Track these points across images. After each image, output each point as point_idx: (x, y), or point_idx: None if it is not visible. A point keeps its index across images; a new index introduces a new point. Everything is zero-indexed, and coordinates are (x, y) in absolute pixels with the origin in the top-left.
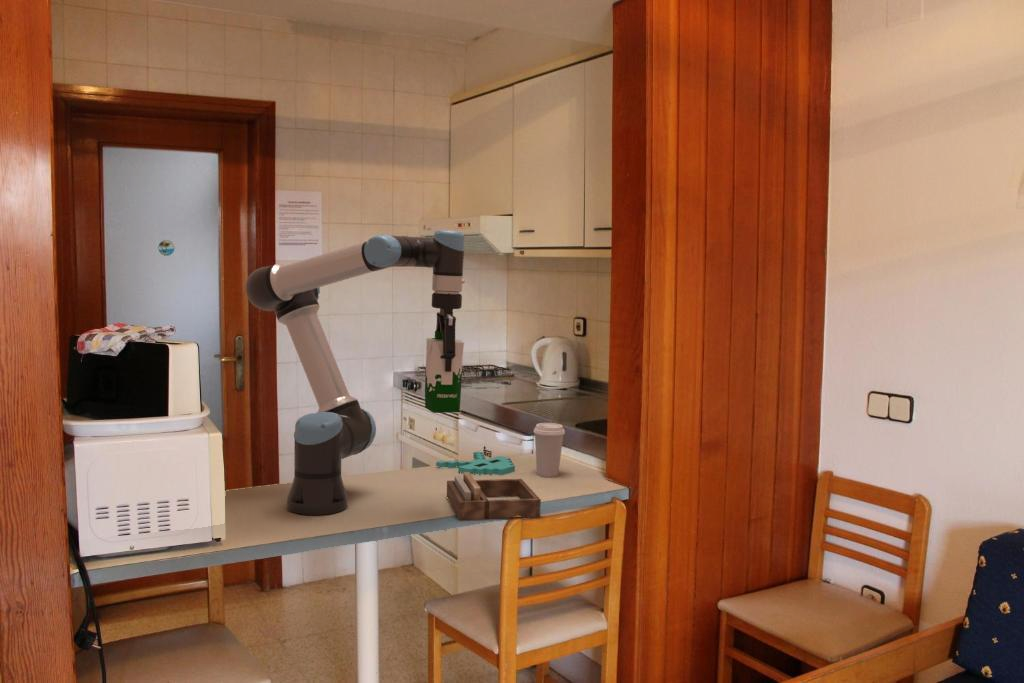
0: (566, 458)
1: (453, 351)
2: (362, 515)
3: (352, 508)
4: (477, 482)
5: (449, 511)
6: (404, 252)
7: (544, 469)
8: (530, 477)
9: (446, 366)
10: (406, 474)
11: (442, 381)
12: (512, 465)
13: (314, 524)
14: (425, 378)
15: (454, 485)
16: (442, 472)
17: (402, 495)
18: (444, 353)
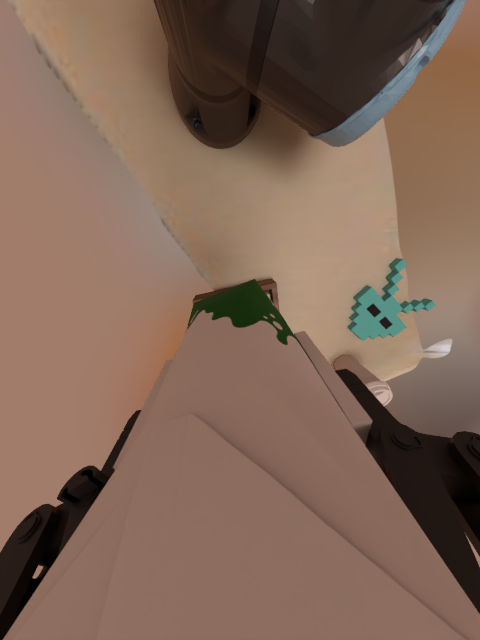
0: (392, 376)
1: (36, 581)
2: (191, 179)
3: (218, 158)
4: None
5: (222, 284)
6: None
7: (338, 364)
8: (335, 350)
9: (122, 436)
10: (373, 221)
11: (164, 370)
12: (364, 338)
13: (136, 103)
14: (239, 308)
15: (266, 290)
16: (371, 267)
17: (278, 226)
18: (19, 537)
